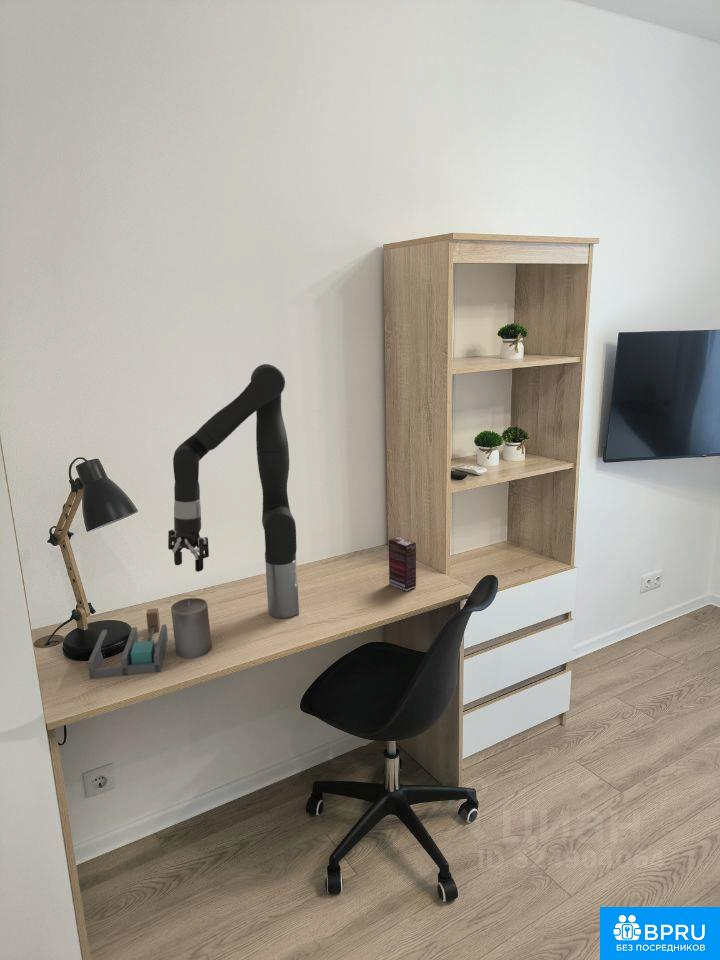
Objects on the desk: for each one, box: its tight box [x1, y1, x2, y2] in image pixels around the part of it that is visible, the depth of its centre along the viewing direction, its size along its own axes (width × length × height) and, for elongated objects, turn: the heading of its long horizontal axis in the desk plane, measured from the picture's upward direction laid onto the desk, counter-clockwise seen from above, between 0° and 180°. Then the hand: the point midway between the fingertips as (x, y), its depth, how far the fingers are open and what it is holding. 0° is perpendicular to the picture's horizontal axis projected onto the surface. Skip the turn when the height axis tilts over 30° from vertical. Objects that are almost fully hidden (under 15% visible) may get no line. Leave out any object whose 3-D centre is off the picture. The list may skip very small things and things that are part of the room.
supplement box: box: [388, 536, 417, 592], centre depth 229 cm, size 9×5×16 cm, turn 40°
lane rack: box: [87, 624, 169, 680], centre depth 187 cm, size 17×18×5 cm
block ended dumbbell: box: [131, 608, 161, 665], centre depth 192 cm, size 5×24×6 cm, turn 9°
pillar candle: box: [170, 597, 213, 659], centre depth 189 cm, size 10×10×15 cm
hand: (188, 567), depth 203 cm, fingers open, 8 cm apart
